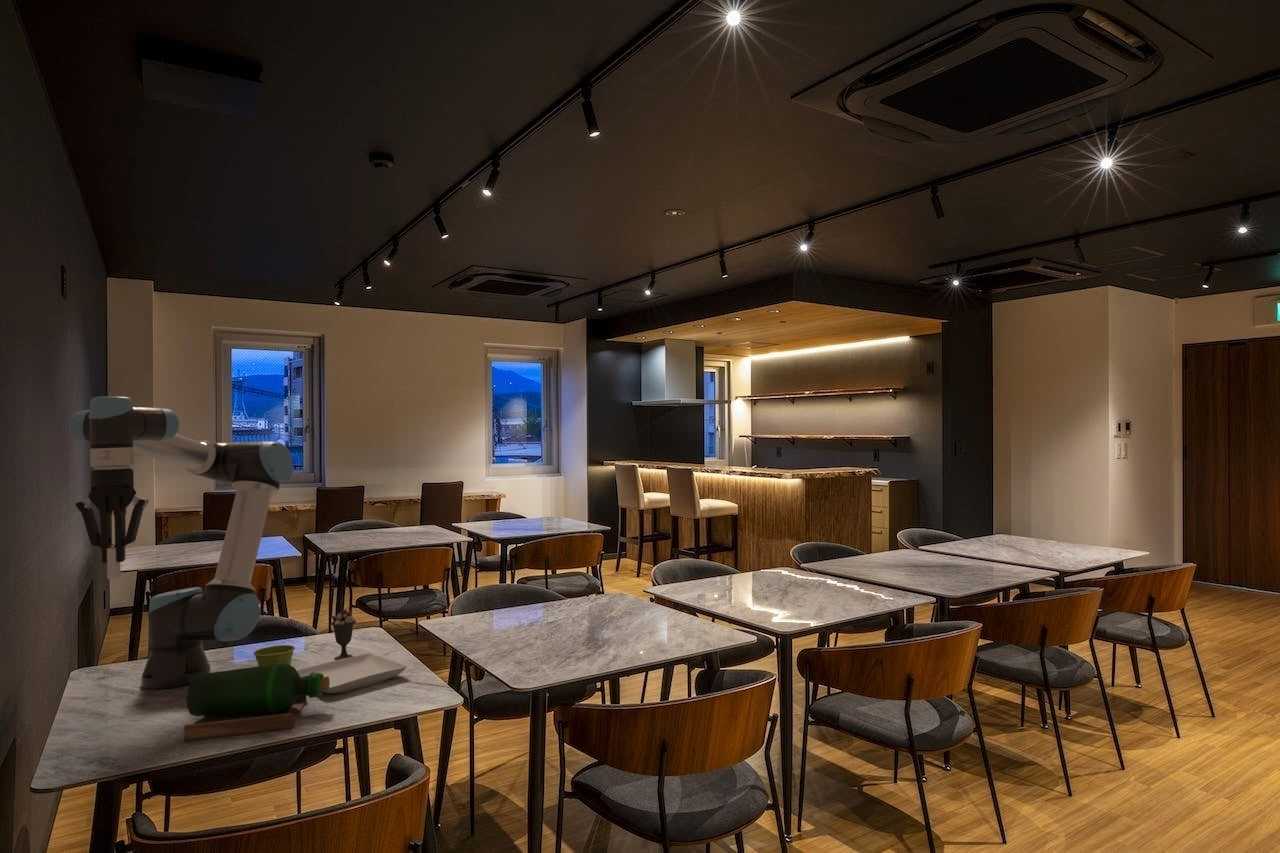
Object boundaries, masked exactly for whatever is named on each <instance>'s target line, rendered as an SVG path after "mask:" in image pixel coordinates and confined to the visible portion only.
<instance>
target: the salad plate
mask: <svg viewBox="0 0 1280 853" xmlns="http://www.w3.org/2000/svg"><path fill="white" fill-rule="evenodd" d="M406 669H407V665H406V664H402V663H401V662H398V661H395V660H391V659H388V658H386V657H382V656H379V655H377V654H373V653H368V652H367V653H364V654H359V655H353V657H349V658H344V659H340V660H332V661H328V662H323V663H320V664H317V665H313V666H309V667H305V668H301V669H296V670H297V672H298V673H299V675H300V677H302V676H308V675H310V674H311V673H312V672H313V673H322V674H323V676H324V677H327V676H328V677H329V682H330V684H329V690H328V691H324V692H325V693H327V694H341V693H345V692H349V691H353V690H357V689H361V688H365V687H367V686H371V685H374V684H378V683H381V682H386V681H387V680H388V681H389V679H391V678H394V677H396V676H398V675H400V674H402V673H403V672H404V671H405V670H406Z"/></svg>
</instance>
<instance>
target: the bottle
mask: <svg viewBox="0 0 1280 853" xmlns="http://www.w3.org/2000/svg"><path fill="white" fill-rule="evenodd" d="M297 670H298V669H296V668H295V667H294V666H293V665H292V664H291V665H289V664H287V663H280V664H272V665H265V666H258V665H257V666H252V667H244V668H237V669H236V668H235V669H230V670H229V669H228V670H223V671H222V670H221V671H216V672H210V673H206V674H199V675H197V676H195V677H194V678H193V679H192V681H191V683H190V684H188V688H187V692H186V697H185V698H186V702H185V703H186V708H187V710H188V712H189V715H191V716H193V717H204V716H211V715H238V714H266V713H283V712H285V711H286V710H288V709H289V708H291V707H292V705H293V704H294V703H295V702H296V700H297V699H298V697H299V696H308V698H310V699H312V698H316V697H319V696H322V695H323V693H324V692H325V691H328V690H329V684H330V682H329V677H328V676H327V677H324V676H323V674H322V673H313V672H312V673H311V674H310V675H308V676H302V677H300V675H299V673H298V672H297Z"/></svg>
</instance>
